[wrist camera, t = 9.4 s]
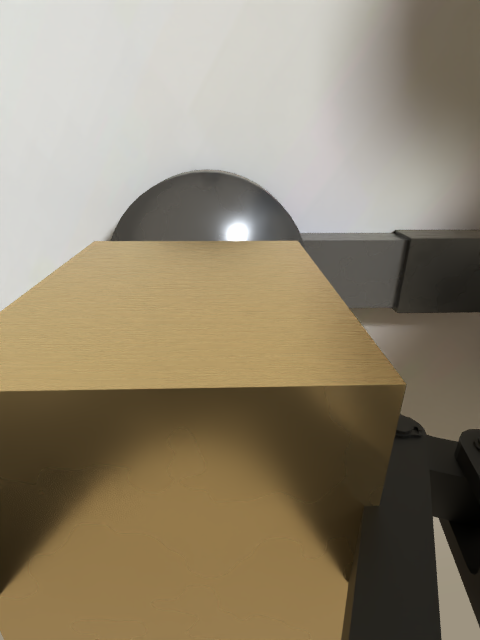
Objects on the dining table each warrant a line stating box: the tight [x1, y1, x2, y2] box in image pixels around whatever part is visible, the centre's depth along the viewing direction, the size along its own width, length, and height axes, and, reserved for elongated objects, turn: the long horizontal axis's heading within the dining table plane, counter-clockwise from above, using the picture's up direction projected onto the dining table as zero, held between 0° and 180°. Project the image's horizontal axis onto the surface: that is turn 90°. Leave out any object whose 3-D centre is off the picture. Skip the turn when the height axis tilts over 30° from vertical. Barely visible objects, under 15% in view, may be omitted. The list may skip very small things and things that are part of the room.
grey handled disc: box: [111, 170, 480, 313], centre depth 22 cm, size 24×12×8 cm, turn 90°
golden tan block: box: [0, 241, 406, 640], centre depth 12 cm, size 8×8×10 cm
